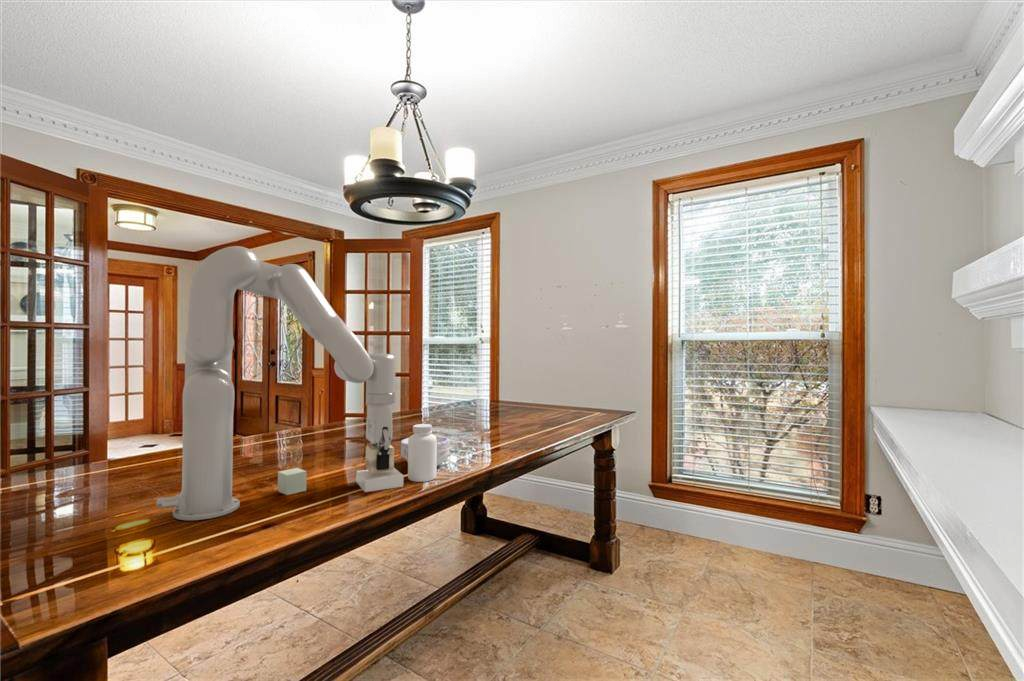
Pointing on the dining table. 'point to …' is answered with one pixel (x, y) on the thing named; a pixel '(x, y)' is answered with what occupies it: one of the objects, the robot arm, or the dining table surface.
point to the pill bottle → (422, 454)
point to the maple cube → (372, 458)
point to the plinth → (379, 480)
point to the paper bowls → (442, 448)
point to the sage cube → (292, 481)
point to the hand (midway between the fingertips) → (379, 465)
